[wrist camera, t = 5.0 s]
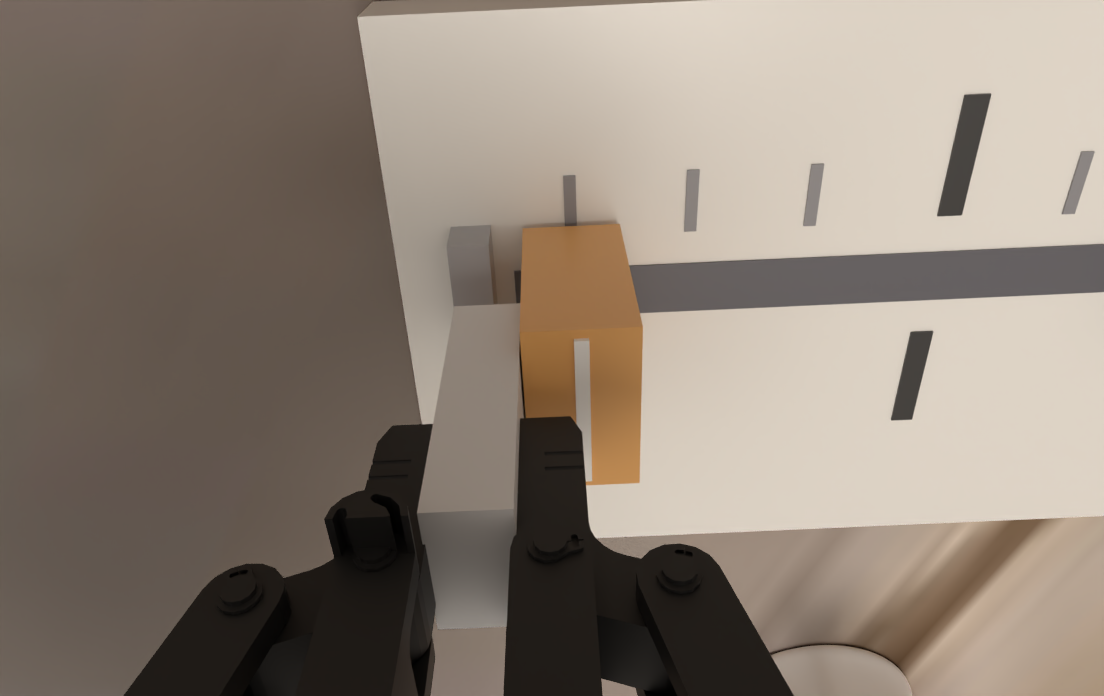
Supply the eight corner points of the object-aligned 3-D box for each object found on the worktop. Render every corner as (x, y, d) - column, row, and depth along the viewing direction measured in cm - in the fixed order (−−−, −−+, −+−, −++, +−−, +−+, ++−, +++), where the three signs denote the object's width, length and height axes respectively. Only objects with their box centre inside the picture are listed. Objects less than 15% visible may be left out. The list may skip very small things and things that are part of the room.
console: (446, 502, 28) (437, 573, 25) (372, 1, 19) (345, 27, 17) (1088, 473, 28) (1149, 542, 25) (1299, -43, 19) (1426, -24, 16)
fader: (531, 364, 22) (530, 490, 18) (522, 228, 20) (519, 335, 16) (619, 360, 22) (640, 486, 18) (619, 223, 20) (643, 329, 16)
